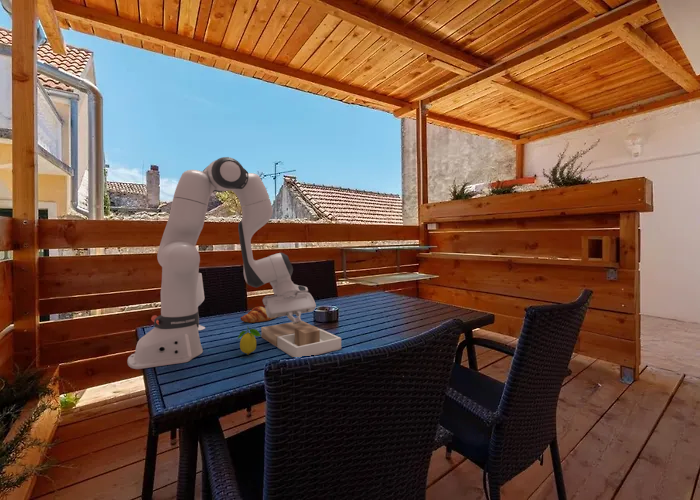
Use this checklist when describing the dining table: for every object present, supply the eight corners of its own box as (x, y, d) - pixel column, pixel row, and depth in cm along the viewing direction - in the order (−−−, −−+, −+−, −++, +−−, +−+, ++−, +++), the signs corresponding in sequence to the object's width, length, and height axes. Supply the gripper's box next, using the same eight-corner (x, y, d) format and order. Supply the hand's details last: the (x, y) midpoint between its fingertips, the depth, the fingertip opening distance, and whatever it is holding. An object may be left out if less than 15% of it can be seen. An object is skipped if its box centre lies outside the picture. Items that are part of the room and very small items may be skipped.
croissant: (277, 322, 176) (273, 307, 179) (287, 315, 170) (283, 300, 172) (238, 329, 162) (234, 312, 164) (247, 323, 155) (243, 305, 158)
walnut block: (294, 344, 130) (305, 350, 123) (294, 328, 130) (305, 333, 123) (308, 341, 133) (319, 346, 127) (308, 325, 133) (319, 330, 127)
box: (296, 359, 115) (296, 347, 115) (277, 347, 128) (277, 336, 127) (341, 348, 126) (341, 338, 126) (319, 338, 138) (319, 328, 138)
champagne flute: (184, 329, 150) (183, 274, 149) (198, 325, 156) (196, 272, 155) (195, 331, 147) (194, 275, 146) (208, 327, 153) (207, 273, 152)
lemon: (261, 355, 120) (260, 326, 119) (244, 359, 116) (244, 329, 115) (253, 350, 125) (252, 322, 124) (236, 353, 121) (236, 325, 120)
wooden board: (276, 346, 128) (276, 335, 128) (261, 337, 140) (261, 327, 139) (318, 337, 139) (318, 327, 139) (301, 329, 150) (301, 320, 150)
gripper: (263, 291, 133) (274, 322, 126) (310, 286, 145) (322, 314, 138) (259, 301, 137) (269, 331, 129) (305, 295, 149) (317, 323, 141)
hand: (297, 322), depth 134 cm, fingers closed
